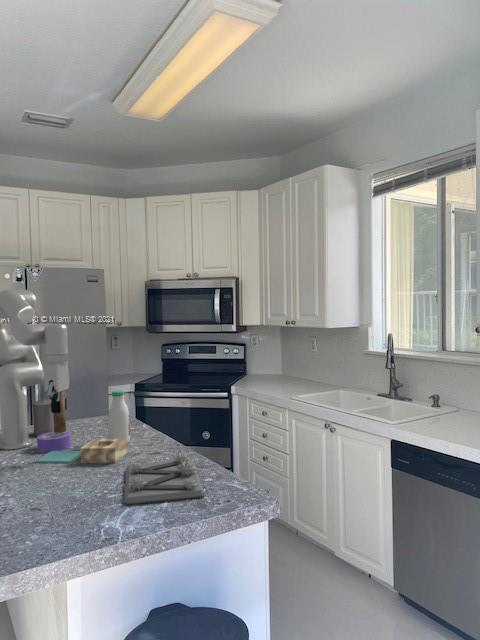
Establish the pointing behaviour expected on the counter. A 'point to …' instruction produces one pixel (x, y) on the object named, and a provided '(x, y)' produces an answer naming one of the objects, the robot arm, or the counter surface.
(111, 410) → the milk bottle
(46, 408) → the pillar candle
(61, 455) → the teal mat
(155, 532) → the counter surface
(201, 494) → the decorative plate
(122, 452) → the eye block
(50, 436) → the tape roll
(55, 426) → the walnut peg
